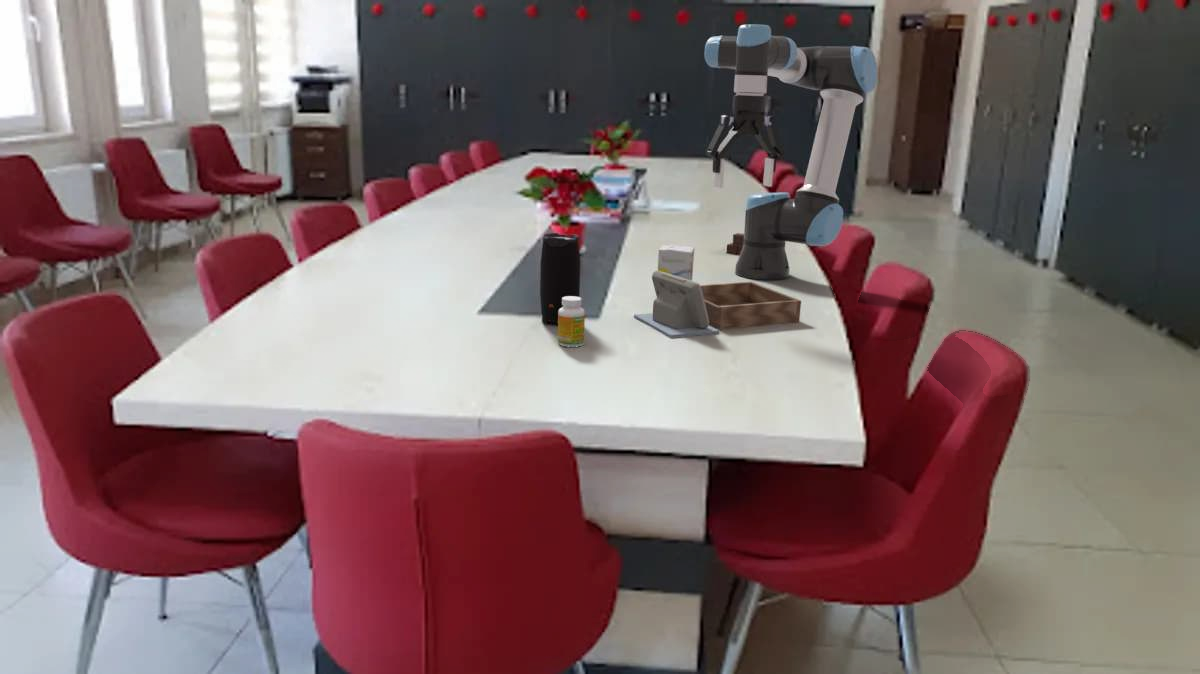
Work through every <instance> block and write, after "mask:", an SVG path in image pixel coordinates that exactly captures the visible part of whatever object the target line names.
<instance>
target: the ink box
mask: <svg viewBox="0 0 1200 674" xmlns="http://www.w3.org/2000/svg"><path fill="white" fill-rule="evenodd" d="M694 259H695V247H694V246H682V245H674V244H669V245H668V244H662V246H660V248H659V249H658V258H657V271H661V272H665V273H668V274H671V275H675V276H678V277H681V278H684V279H687V280H691V281H693V273H694Z"/></svg>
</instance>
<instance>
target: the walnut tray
mask: <svg viewBox="0 0 1200 674" xmlns="http://www.w3.org/2000/svg"><path fill="white" fill-rule="evenodd" d="M700 286H701V289H702V293H703V297H704V301H705V306H706V310H707V314H708V318H709V326H711V327H713V328H715V329H717V330H724V329H727V330H728V329H736V328H746V327H755V326H756V327H757V326H768V325H770V326H771V325H778V324H779V325H780V324H790V323H791V324H792V323H799V322H800V319H801V318H800V317H801V316H800V315H801V306H802V300H800V299H798V298H795V297H793V296H790V295H787V294H786V293H782V292H779V291H777V290H774V289H772V288H770V287H767V286H765V285H761V284H759V283H756V282H755V281H754V282H753V281H742V282H741V281H740V282H730V283H729V282H728V283H727V282H725V283H714V284H713V283H712V284H710V283H709V284H700Z"/></svg>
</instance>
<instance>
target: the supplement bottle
mask: <svg viewBox="0 0 1200 674" xmlns="http://www.w3.org/2000/svg"><path fill="white" fill-rule="evenodd" d="M582 299H583V298H581V296H579V297H576V296H566V297H563V298H562V305H563V307H562V308H560V309H559V311H558V323H557V344H558V345H559V346H560V345H562V346H561V347H563V346H569V347H568V348H577V347H576V346H580V347H581V345H582V346H583V345H584V343H585V321H586V319H585V316H586V314H585V313H586V311H585V309H584V308H582V307H581V306H582Z"/></svg>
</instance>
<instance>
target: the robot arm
mask: <svg viewBox="0 0 1200 674" xmlns="http://www.w3.org/2000/svg"><path fill="white" fill-rule="evenodd" d="M703 54H704V56H703V57H704V60H705V63H706V64H707V65H708V67H710V68H718V69H730V70H735V72H734V74H735V75H734V83H733V84H734V85H733V92H734V93H735V95H734V96H733V98H732V99H733V100H732V116H729V115H725V114H721V116H720V118H719V124H718V127H717V128H716V130H715V131H714V132H715V133H714V135H713V137H712V139H711V141H710V143H709V145H708V147H707V149H706V151H705V155H706V156H709V157H711V158H712V172H713V173H714V187H716V188H724V177H725V175H724V174H725V163H726V161H725V159H723V157H724V155H725V154H726V153H727V151H728V150H729V149H730V148H731V147H732V146H733V144H734V143H735V141H736V140H737V139H738V138H740V136H742V137H743V136H744V137H745V136H751V137H752V136H754V137H755V138H756V139H757V141H758V142H759V144H760V146H761V147H762V149H763V151H764V152H765V153H766V156H767V157H765V158H764V170H763V179H762V181H763V182H762V186H765V187H769V188H770V187H772V186H773V177H774V176H773V175H774V173H775V172H776V168H777V160H778V159H780V157H783V156H784V155H785V150H784V147H783V144H782V141H781V138H780V135H779V132H778V128H777V127H776V117H775V116H773V115H766V116H764V114H765V111H766V101H767V97H766V96H765V95H764V94H766V93H768V92H767V89H768V77H769V76H770V77H774V78H778V79H779V81H781V82H783V83H785V84H790V85H793V86H796V87H801V88H804V89H808V90H809V89H810V90H814V91H819V95H820V97H821V98H822V99H823V103H822V106H821V111H820V115H819V120H818V123H817V129H816V132H815V136H814V140H813V144H812V149H811V152H810V157H809V162H808V165H807V169H806V172H805V173H806V174H805V178H804V183H803V186H801V187H800V188H799V189H797V190H796V192H795V196H794V198H791V196H790V193H789V192H764V193H755V194H750V196H749V195H748V198H747V200H746V204H745V205H746V206H745V209H744V213H745V214H744V215H745V217H744V228H743V230H744V232H743V234H744V244H743V249H742V251H741V254H740V255H738V259H737V261H736V264H735V269H734V270H735V272H734V273H735V275H736V276H739V277H743V278H746V279H753V280H763V281H764V280H768V281H769V280H771V281H773V280H774V281H775V280H785V279H787V278H789V276H790V264H789V262H788V261H789V260H788V256H787V251H786V242H789V243H796V244H802V245H808V246H810V247H814V246H815V247H817V246H818V247H827V246H829V245H830V244H832V243H833V242H834V241H836V240H835V239H837V237H838V236H839V234H840V231H841V229H842V227H843V222H844V209H843V207H842V206H841V205H840V204H839V203H840V198H839V196H838V194H836V190H837V187H838V186H837V185H838V181H839V179H840V178H839V177H840V174H841V169H842V166H843V161H844V156H845V153H846V152H845V151H846V149H847V145H848V140H849V136H850V131H851V129H852V128H851V127H852V123H853V119H854V115H855V110H856V107H857V106H858V105H860V104H861V103H863V101H864V99H865V94H869V93H871V92H872V91H874V89H875V88H876V85H877V82H878V63H877V58H876V56H875V54H874V51H872V49H871V48H868V47H866V46H857V45H852V46H847V45H846V46H844V45H843V46H836V45H835V46H833V45H832V46H831V45H830V46H829V45H828V46H827V45H826V46H823V45H819V46H817V45H816V46H806V47H797V44H796V42H795V41H794V40H793V39H792V38H789V37H786V36H784V35H772V29H771V26H770V25H768V24H755V23H753V24H750V23H748V24H741V25H740V26H739V27H738V30H737V36H736V35H718V36H716V35H715V36H711V37H709V39H707V41H706V42H705V45H704V53H703ZM730 125H732V128H730V130H729V131H728V129H729V126H730ZM763 125H765V129H766V131H767V135H768V137H769V139H768V137H767V135H766V132H765V130H764V129H763ZM727 131H728V134H727V135H726V133H727ZM725 136H726V137H725ZM724 137H725V138H724Z"/></svg>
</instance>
